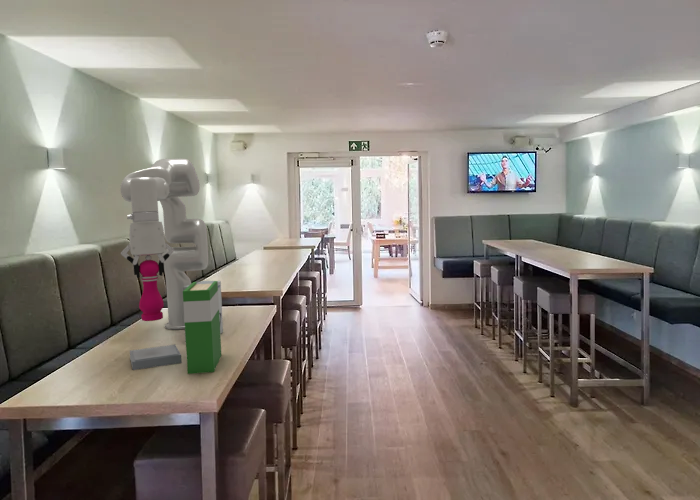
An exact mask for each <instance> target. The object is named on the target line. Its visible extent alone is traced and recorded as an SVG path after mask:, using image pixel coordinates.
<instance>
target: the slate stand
mask: <svg viewBox="0 0 700 500" xmlns="http://www.w3.org/2000/svg"><path fill="white" fill-rule="evenodd" d="M129 359H130V363H131V370H133V371H135V370H136V371H137V370H141V369H142V370H143V369H150V368H157V367H161V366H162V367H163V366H169V365H175V364H176V365H177V364H182V363H183V362H182V354H181V352H180V350H179V349H178V346H177V345H176V344H168V345H167V344H166V345H159V346H154V347H146V348H140V349H139V348H138V349H131V350H129Z"/></svg>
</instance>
